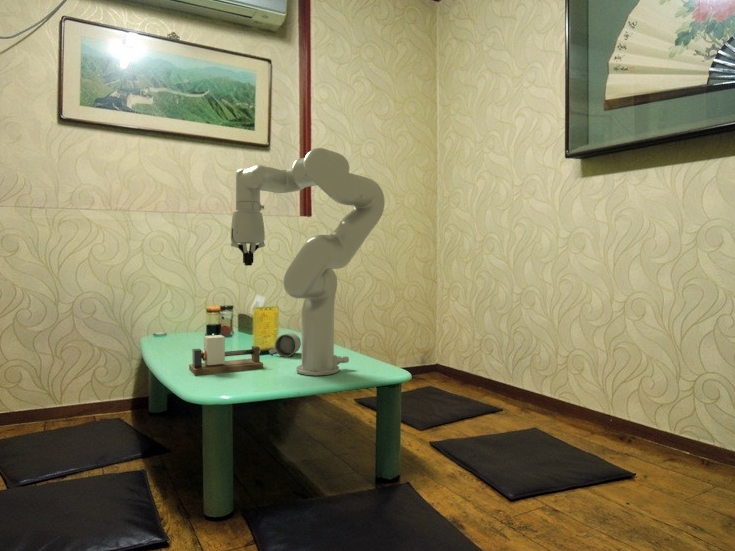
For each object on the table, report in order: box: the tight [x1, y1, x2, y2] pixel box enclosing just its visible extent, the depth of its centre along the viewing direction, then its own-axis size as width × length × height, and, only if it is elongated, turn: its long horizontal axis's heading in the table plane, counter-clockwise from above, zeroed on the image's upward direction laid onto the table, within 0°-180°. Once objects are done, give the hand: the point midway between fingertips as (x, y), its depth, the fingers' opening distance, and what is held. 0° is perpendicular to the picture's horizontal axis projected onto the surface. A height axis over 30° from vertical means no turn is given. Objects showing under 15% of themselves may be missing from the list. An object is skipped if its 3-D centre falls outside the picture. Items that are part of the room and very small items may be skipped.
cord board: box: [188, 345, 264, 376], centre depth 153 cm, size 20×9×6 cm, turn 119°
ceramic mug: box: [268, 332, 302, 358], centre depth 176 cm, size 11×8×8 cm
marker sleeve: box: [203, 334, 226, 365], centre depth 151 cm, size 5×5×8 cm
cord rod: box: [191, 348, 254, 368], centre depth 152 cm, size 18×3×5 cm, turn 119°
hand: (248, 265), depth 163 cm, fingers closed
